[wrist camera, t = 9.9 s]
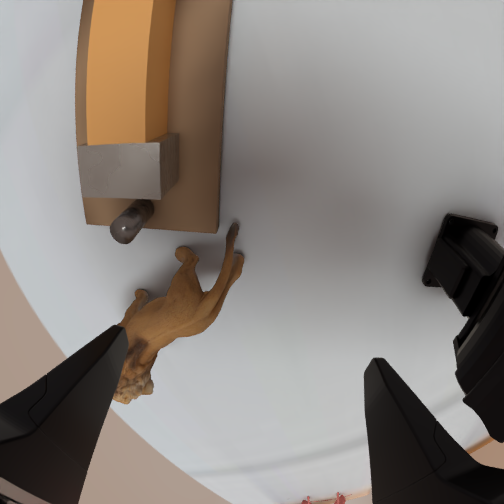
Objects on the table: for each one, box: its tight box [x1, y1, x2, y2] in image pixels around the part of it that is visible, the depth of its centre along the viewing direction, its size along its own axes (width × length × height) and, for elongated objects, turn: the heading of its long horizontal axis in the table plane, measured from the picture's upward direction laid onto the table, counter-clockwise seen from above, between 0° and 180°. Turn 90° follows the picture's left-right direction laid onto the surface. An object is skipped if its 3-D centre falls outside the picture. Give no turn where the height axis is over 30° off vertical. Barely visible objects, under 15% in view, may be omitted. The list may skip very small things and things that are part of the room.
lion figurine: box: [113, 223, 244, 404], centre depth 19 cm, size 15×5×9 cm, turn 140°
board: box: [75, 0, 232, 244], centre depth 13 cm, size 10×22×4 cm, turn 176°
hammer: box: [77, 0, 179, 200], centre depth 12 cm, size 5×15×4 cm, turn 176°
